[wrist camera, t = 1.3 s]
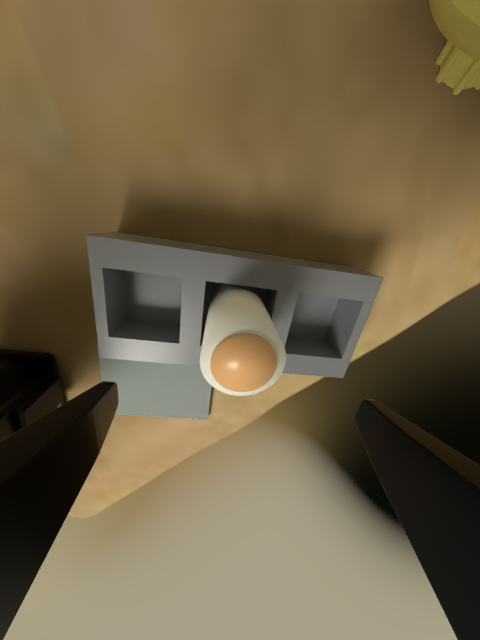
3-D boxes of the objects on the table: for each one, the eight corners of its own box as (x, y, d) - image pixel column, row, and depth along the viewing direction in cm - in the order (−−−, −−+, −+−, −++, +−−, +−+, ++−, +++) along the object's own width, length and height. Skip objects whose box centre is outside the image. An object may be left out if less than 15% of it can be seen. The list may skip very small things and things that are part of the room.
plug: (207, 324, 18) (195, 397, 11) (212, 275, 17) (202, 320, 9) (255, 329, 19) (277, 402, 11) (264, 282, 17) (297, 330, 9)
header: (123, 331, 19) (99, 357, 15) (117, 231, 16) (85, 234, 12) (322, 351, 21) (343, 377, 18) (351, 266, 18) (383, 277, 14)
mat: (107, 409, 22) (105, 413, 22) (99, 339, 19) (96, 342, 19) (208, 415, 23) (207, 419, 23) (216, 350, 20) (215, 353, 20)
